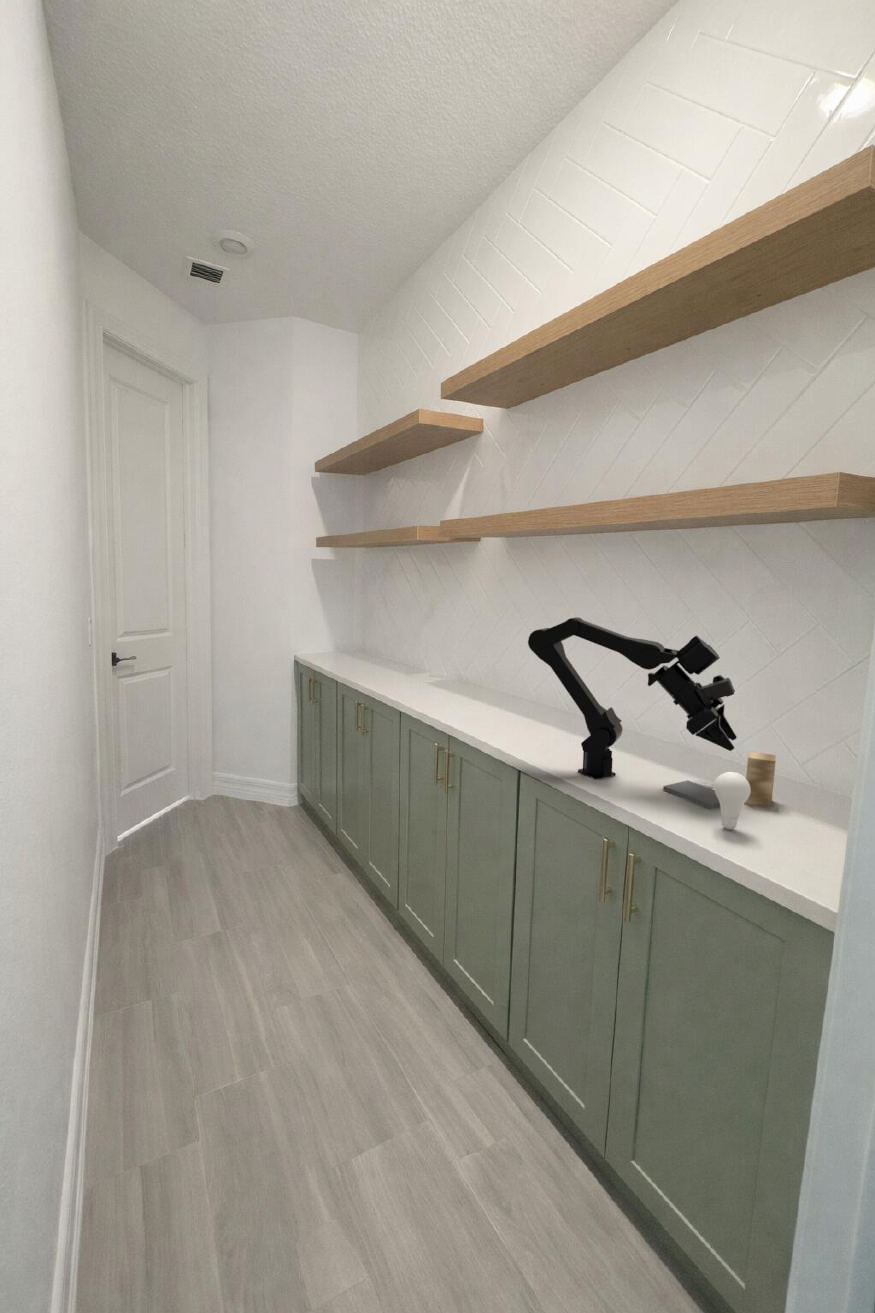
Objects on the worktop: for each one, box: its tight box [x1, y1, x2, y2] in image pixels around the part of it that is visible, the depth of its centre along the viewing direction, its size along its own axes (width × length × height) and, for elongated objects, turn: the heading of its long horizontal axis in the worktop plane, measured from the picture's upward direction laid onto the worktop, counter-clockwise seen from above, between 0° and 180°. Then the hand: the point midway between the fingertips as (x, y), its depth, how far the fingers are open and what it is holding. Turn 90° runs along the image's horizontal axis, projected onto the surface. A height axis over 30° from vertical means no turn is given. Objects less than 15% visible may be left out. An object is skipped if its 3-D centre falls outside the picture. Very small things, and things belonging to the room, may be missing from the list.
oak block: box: [743, 751, 776, 809], centre depth 126 cm, size 5×5×10 cm
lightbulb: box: [713, 771, 751, 830], centre depth 112 cm, size 6×6×11 cm
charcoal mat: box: [662, 780, 721, 810], centre depth 129 cm, size 12×8×1 cm, turn 29°
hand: (733, 744), depth 127 cm, fingers open, 9 cm apart
